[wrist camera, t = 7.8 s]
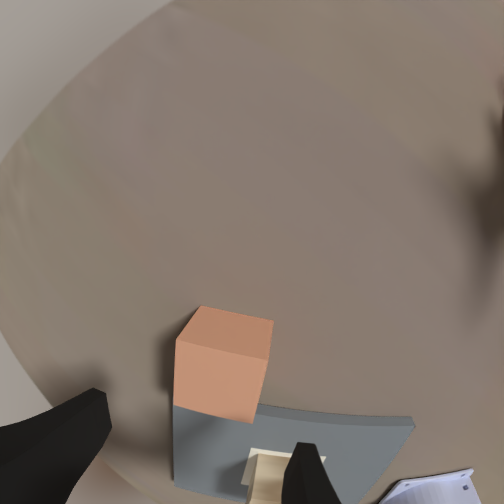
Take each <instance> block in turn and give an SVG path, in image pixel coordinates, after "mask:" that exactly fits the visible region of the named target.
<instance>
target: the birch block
mask: <svg viewBox="0 0 504 504" xmlns="http://www.w3.org/2000/svg"><path fill="white" fill-rule="evenodd" d="M289 460H290V457H282V456H274V455H267V454H261V453H258V457H257V460H256V463H255V466H254V469H253V472H252V476H251V479H250V482H249V488H248V493H247V499H246V504H281V493H282V485H283V478H284V471H285V469H286V467H287V465H288V463H289Z"/></svg>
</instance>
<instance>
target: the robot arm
mask: <svg viewBox="0 0 504 504" xmlns="http://www.w3.org/2000/svg"><path fill="white" fill-rule="evenodd" d="M111 428H112V424H111V419H110V414H109V409H108V403H107V397H106V393H104V392H102V391H100V390H97V389H95V388H91V389H89V390H87V391H85V392H84V393H82V394H80V395H78V396H76V397H74V398H72V399H70V400H68V401H66V402H65V403H63V404H61V405H58V406H56V407H54V408H52V409H50V410H48V411H46V412H44V413H41V414H39V415H37V416H34V417H32V418H29V419H26V420H24V421H21V422H18V423H14V424H10V425H7V426H2V427H0V504H65V503H66V501H67V499H68V497H69V495H70V493H71V491H72V489H73V488H74V486H75V485H76V483H77V481H78V480H79V479H80V477H81V476H82V475H83V473H84V472H85V470H86V469H87V468H88V466H89V465H90V463H91V462H92V460H93V459H94V458H95V456H96V455H97V453H98V452H99V451H100V449H101V448H102V446H103V444H104V442H105V440H106V439H107V437H108V435H109V432H110V430H111ZM472 473H473V469H467V470H462V471H458V472H453V473H448V474H442V475H436V476H430V477H423V478H416V479H407V480H401V481H399V482H398V483H397V484H396V485H395V486H394V487H393V488H392V489H391V490H390V492H389V493H388V494H387V495H386V496H385V497H384V498H383V499H382V500H381V501H380V502H379V504H481V502H480V500H479V497H478V495H477V493H476V490H475V488H474V486H473V483H472V481H471V479H470V477H469V476H470V475H471V474H472ZM281 504H342V503H341V501H340V500H339V498H338V496H337V494H336V492H335V490H334V488H333V486H332V484H331V482H330V480H329V477H328V475H327V473H326V471H325V468H324V466H323V463H322V461H321V458H320V455H319V452H318V450H317V446H316V445H315V444H314V443H304V442H297V444H296V446H295V449H294V451H293V453H292V456H291V458H290V460H289V463H288V465H287V467H286V469H285V471H284V478H283V485H282V493H281Z"/></svg>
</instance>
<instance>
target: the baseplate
mask: <svg viewBox="0 0 504 504" xmlns="http://www.w3.org/2000/svg"><path fill="white" fill-rule="evenodd" d="M173 398H174V394H173ZM414 427H415V424H414V422H413V419H412V417H377V416H355V415H341V414H329V413H319V412H310V411H302V410H294V409H287V408H280V407H274V406H268V405H262V404H258V405H257V409H256V412H255V416H254V420H253V424H250V423H245V422H240V421H235V420H231V419H226V418H222V417H217V416H213V415H209V414H205V413H201V412H197V411H194V410H190V409H186V408H183V407H179V406H176V405H173V462H174V486H175V487H179V488H182V489H186V490H189V491H193V492H197V493H201V494H205V495H209V496H214V497H218V498H223V499H228V500H233V501H239V502H245V503H246V499H247V493H248V488H249V482H250V479H251V476H252V472H253V469H254V466H255V463H256V460H257V457H258V453H261V454H267V455H274V456H282V457H290V458H291V456H292V453H293V451H294V449H295V446H296V444H297V442H304V443H314V444H315V445H316V446H317V450H318V452H319V455H320V458H321V461H322V463H323V466H324V468H325V471H326V473H327V475H328V477H329V480H330V482H331V484H332V486H333V488H334V490H335V492H336V494H337V496H338V498H339V500H340V501H341V503H342V504H358V503H359V501H360V500H361V499H362V498H363V497H364V496H365V494H366V493H367V492H368V491H369V490H370V488H371V487H372V486H373V485H374V484H375V482H376V481H377V480H378V479H379V477H380V476H381V475H382V473H383V472H384V471H385V470H386V468H387V467H388V466H389V464H390V463H391V461H392V460H393V459H394V457H395V456H396V454H397V453H398V452H399V450H400V449H401V447H402V446H403V444H404V443H405V441H406V440H407V438H408V437H409V435H410V434H411V432H412V431H413V429H414Z"/></svg>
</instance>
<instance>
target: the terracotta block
mask: <svg viewBox="0 0 504 504" xmlns="http://www.w3.org/2000/svg"><path fill="white" fill-rule="evenodd" d="M273 322H274V321H273V320H268V319H262V318H257V317H252V316H247V315H242V314H238V313H233V312H228V311H223V310H219V309H214V308H210V307H205V306H200V307H199V309H198V310H197V311H196V313H195V314H194V315H193V317H192V318H191V319H190V321H189V322H188V324H187V325H186V326H185V328H184V329H183V330H182V332H181V333H180V335H179V336H178V337H177V339H176V349H175V369H174V398H173V405H176V406H179V407H183V408H186V409H190V410H194V411H197V412H201V413H205V414H209V415H213V416H217V417H222V418H226V419H231V420H235V421H240V422H245V423H250V424H253V420H254V416H255V412H256V409H257V405H258V401H259V397H260V393H261V389H262V385H263V381H264V376H265V372H266V368H267V364H268V359H269V352H270V345H271V338H272V330H273Z"/></svg>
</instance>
